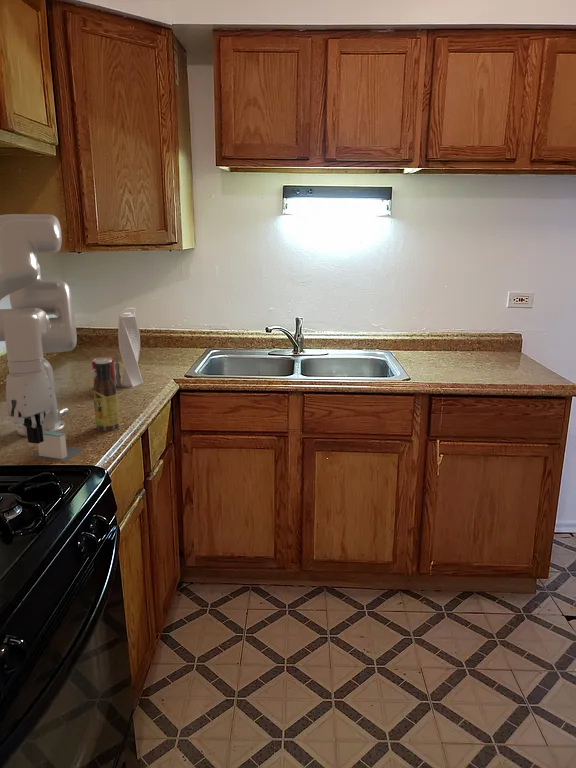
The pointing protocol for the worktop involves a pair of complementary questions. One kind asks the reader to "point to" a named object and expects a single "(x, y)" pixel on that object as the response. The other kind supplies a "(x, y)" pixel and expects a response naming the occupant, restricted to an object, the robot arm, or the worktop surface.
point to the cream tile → (53, 445)
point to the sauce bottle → (105, 398)
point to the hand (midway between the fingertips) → (36, 441)
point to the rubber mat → (70, 453)
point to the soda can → (112, 370)
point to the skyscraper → (128, 350)
